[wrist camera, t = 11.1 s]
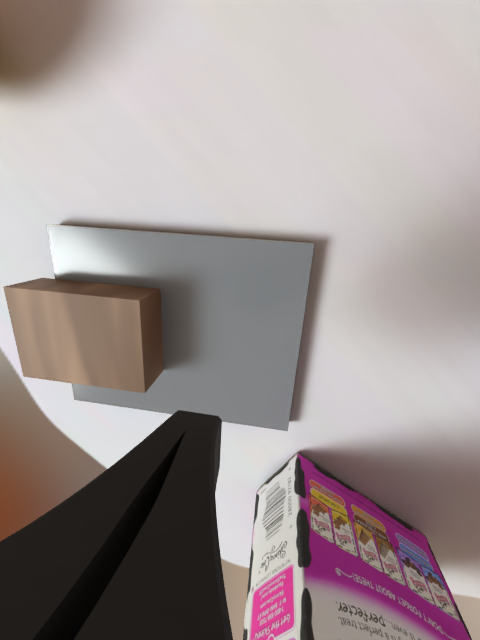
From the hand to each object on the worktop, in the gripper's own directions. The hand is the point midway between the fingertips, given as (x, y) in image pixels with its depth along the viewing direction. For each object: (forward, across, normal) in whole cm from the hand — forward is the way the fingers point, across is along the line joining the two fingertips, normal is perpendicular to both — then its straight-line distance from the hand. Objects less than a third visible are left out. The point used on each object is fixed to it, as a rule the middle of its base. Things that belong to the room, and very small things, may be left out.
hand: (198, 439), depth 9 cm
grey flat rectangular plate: (+8, +4, 0) cm, 9 cm away
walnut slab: (+6, +4, 0) cm, 8 cm away
